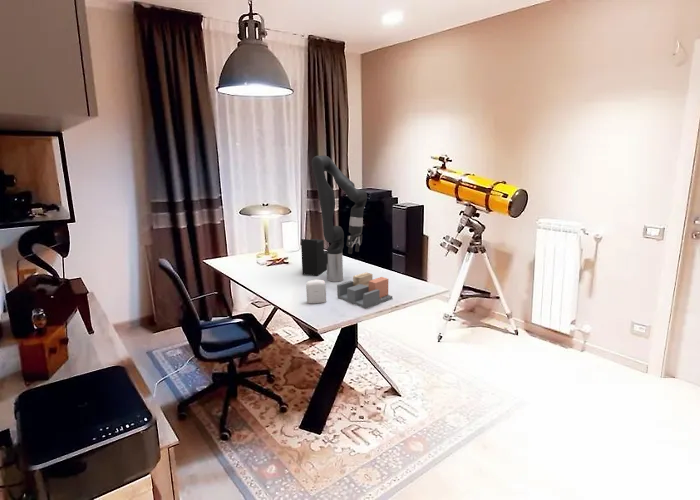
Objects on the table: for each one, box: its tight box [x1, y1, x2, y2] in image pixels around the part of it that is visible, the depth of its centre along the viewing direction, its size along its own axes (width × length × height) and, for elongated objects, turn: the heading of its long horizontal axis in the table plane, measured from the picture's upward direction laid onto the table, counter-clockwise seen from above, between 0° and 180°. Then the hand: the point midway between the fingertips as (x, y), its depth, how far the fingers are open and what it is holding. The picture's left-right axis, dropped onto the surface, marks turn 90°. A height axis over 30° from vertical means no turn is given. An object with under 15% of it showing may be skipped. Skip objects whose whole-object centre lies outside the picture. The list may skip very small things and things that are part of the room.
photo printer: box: [305, 279, 327, 304], centre depth 225 cm, size 10×4×12 cm, turn 96°
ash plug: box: [352, 271, 373, 286], centre depth 236 cm, size 5×10×9 cm, turn 133°
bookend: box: [300, 238, 328, 277], centre depth 279 cm, size 23×11×24 cm, turn 159°
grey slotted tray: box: [336, 280, 393, 310], centre depth 229 cm, size 22×20×8 cm
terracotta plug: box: [369, 276, 389, 298], centre depth 227 cm, size 5×10×9 cm, turn 133°
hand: (353, 252), depth 246 cm, fingers open, 8 cm apart
